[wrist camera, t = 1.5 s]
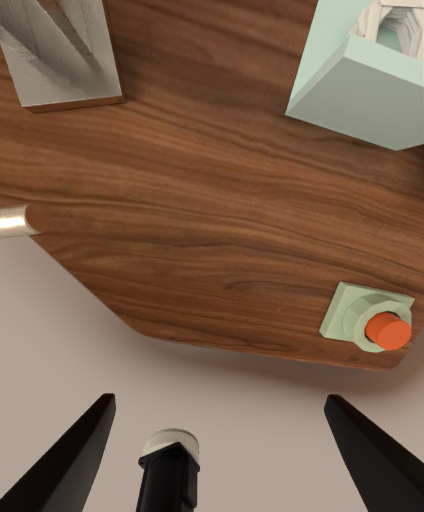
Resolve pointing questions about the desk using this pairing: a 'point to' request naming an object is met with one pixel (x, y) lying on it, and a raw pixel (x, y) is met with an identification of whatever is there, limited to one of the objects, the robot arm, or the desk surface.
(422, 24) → the right angle wall
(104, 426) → the robot arm
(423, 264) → the desk surface
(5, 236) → the lever
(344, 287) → the control block
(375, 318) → the button
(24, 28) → the bracket
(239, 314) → the desk surface
